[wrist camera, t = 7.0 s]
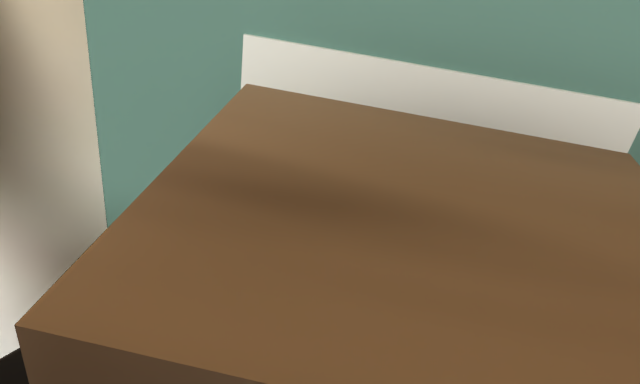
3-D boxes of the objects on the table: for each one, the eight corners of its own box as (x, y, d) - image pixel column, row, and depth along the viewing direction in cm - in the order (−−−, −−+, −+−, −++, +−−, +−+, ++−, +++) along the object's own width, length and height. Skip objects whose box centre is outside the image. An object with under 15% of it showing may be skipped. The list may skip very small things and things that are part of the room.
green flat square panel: (588, 468, 13) (594, 486, 12) (130, 360, 14) (121, 374, 13) (965, -73, 6) (1001, -71, 6) (78, -199, 7) (58, -204, 7)
